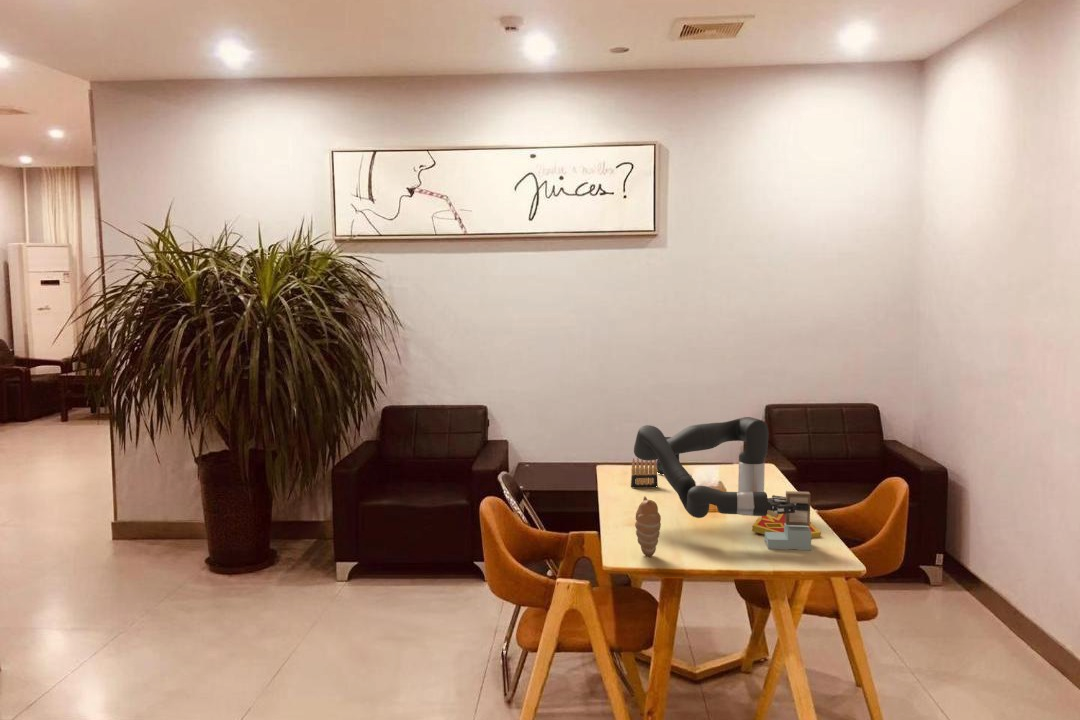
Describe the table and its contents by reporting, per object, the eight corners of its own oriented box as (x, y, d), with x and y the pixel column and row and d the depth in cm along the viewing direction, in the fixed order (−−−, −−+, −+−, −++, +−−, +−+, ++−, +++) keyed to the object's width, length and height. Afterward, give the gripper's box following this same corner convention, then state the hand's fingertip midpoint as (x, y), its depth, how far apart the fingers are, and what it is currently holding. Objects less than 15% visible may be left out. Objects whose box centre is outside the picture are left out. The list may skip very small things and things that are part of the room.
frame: (785, 522, 271) (785, 491, 270) (807, 522, 270) (808, 491, 269) (786, 525, 268) (787, 493, 267) (809, 525, 267) (810, 494, 266)
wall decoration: (822, 518, 301) (822, 505, 301) (820, 545, 272) (820, 531, 272) (759, 513, 308) (759, 501, 308) (750, 539, 279) (750, 526, 279)
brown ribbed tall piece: (631, 552, 265) (631, 495, 263) (655, 550, 266) (655, 493, 265) (640, 561, 256) (641, 502, 254) (665, 559, 258) (666, 501, 256)
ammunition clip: (631, 487, 344) (631, 458, 343) (630, 486, 346) (630, 457, 345) (657, 487, 345) (658, 458, 344) (656, 486, 347) (657, 457, 345)
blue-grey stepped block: (764, 540, 275) (764, 522, 275) (806, 542, 273) (806, 523, 273) (767, 548, 267) (768, 530, 267) (810, 550, 266) (811, 531, 265)
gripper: (748, 509, 278) (803, 511, 276) (753, 521, 264) (811, 523, 262) (748, 486, 277) (804, 488, 275) (754, 497, 263) (812, 499, 261)
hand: (807, 505), depth 268 cm, fingers closed on frame, 3 cm apart
